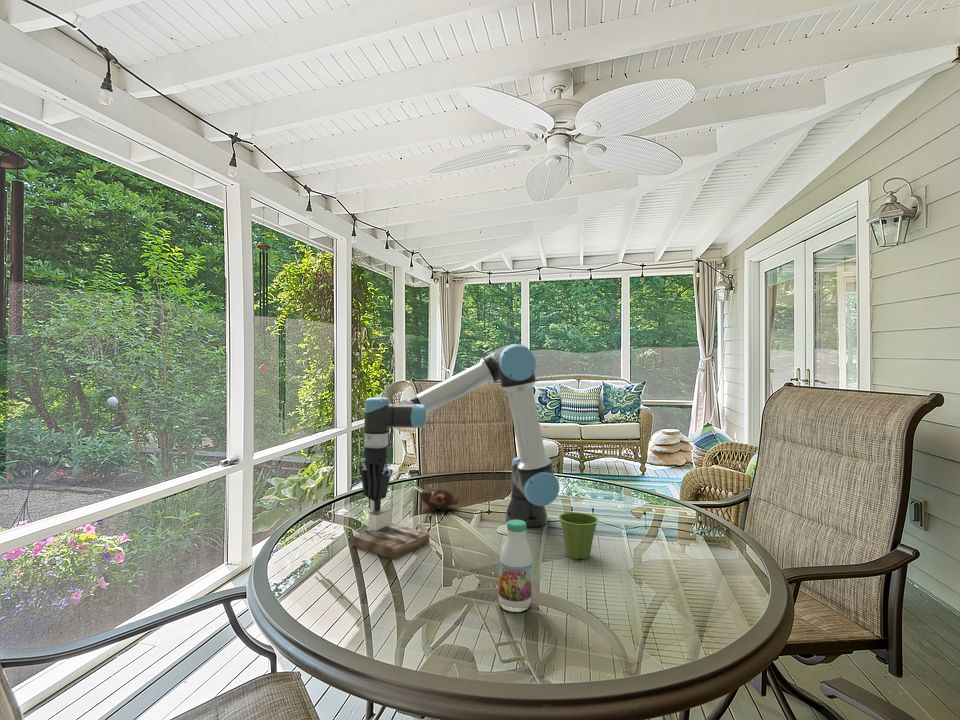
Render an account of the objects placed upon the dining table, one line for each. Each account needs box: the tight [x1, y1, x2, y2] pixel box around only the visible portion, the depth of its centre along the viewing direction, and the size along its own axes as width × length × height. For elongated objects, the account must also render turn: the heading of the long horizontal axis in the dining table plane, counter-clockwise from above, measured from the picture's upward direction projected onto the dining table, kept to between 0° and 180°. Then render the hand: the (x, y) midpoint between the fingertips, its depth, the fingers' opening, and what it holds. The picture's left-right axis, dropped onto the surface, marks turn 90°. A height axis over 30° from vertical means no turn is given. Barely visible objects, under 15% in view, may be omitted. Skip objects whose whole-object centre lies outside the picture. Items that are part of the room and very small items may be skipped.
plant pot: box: [558, 511, 599, 560], centre depth 149 cm, size 12×12×11 cm
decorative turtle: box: [420, 488, 460, 513], centre depth 190 cm, size 10×15×8 cm, turn 115°
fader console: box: [352, 522, 430, 560], centre depth 153 cm, size 17×16×4 cm
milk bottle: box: [498, 520, 533, 608], centre depth 117 cm, size 8×8×20 cm
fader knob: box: [368, 506, 393, 533], centre depth 156 cm, size 3×7×6 cm, turn 148°
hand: (374, 519), depth 158 cm, fingers closed
